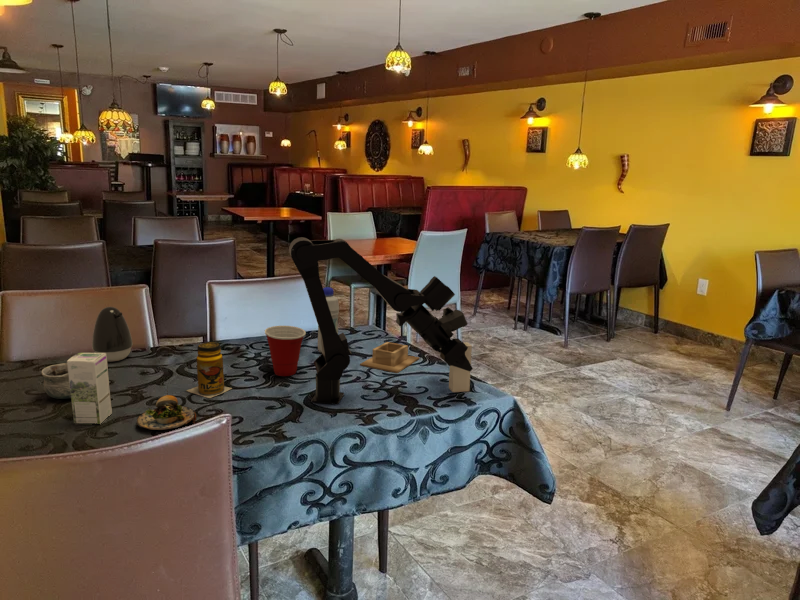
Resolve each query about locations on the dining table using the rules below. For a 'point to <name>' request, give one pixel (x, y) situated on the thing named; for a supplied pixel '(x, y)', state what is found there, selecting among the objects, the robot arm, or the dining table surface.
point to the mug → (57, 381)
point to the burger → (166, 415)
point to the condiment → (209, 371)
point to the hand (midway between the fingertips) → (465, 364)
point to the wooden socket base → (390, 358)
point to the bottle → (334, 311)
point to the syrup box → (89, 387)
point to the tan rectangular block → (460, 375)
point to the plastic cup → (284, 348)
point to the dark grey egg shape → (111, 335)
